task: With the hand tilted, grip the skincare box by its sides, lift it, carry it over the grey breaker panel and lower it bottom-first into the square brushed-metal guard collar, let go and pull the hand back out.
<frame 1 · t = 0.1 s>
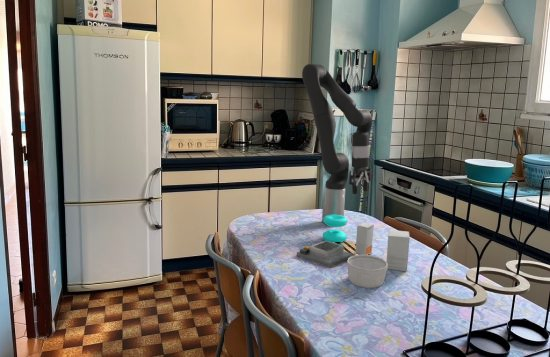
hand: (360, 192, 206), 17 cm above the table, tool pointing down, fingers open, 8 cm apart
donuts: (334, 240, 195), on the table
supplement box: (396, 267, 167), on the table
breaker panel: (324, 256, 175), on the table
ramekin: (365, 282, 154), on the table
skincare box: (363, 255, 179), on the table
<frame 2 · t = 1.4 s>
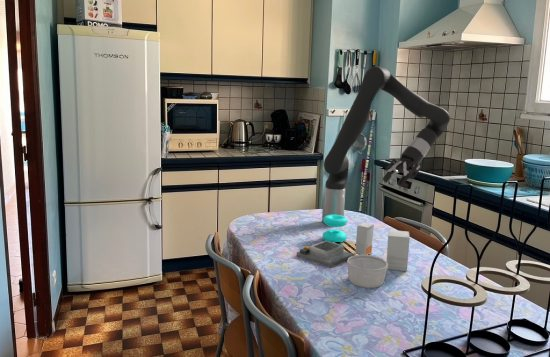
hand: (391, 183, 179), 27 cm above the table, tool tilted 45°, fingers open, 8 cm apart
nothing on the table moved.
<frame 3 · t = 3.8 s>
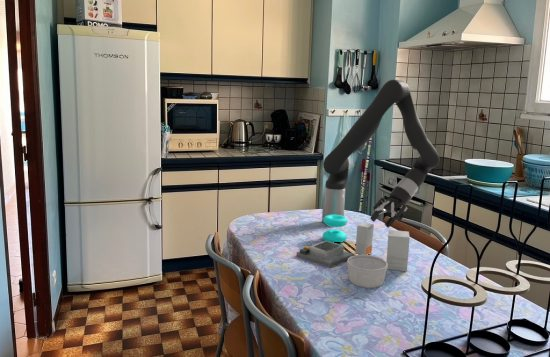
hand: (379, 223, 179), 12 cm above the table, tool tilted 45°, fingers open, 8 cm apart
nothing on the table moved.
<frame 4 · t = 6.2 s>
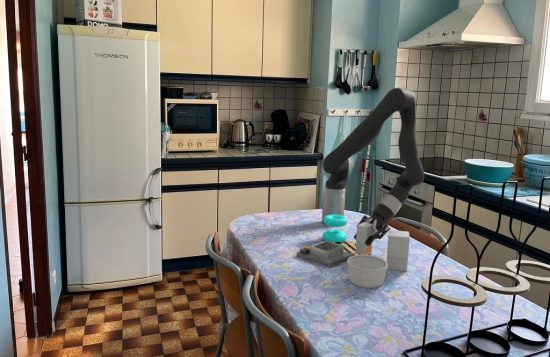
hand: (360, 241, 177), 5 cm above the table, tool tilted 45°, fingers closed on skincare box, 6 cm apart
skincare box: (363, 254, 179), on the table, touching gripper
everything else where it was.
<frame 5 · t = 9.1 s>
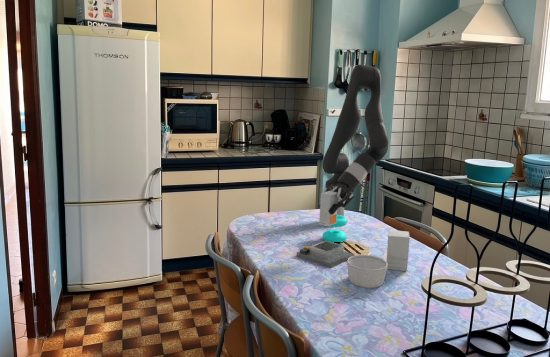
hand: (325, 210, 172), 18 cm above the table, tool tilted 45°, fingers closed on skincare box, 6 cm apart
skincare box: (328, 224, 174), point 12 cm above the table, touching gripper
everything else where it was.
when the fingers open (8 cm above the table, at t = 11.9 s): skincare box drops 1 cm, resting on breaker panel.
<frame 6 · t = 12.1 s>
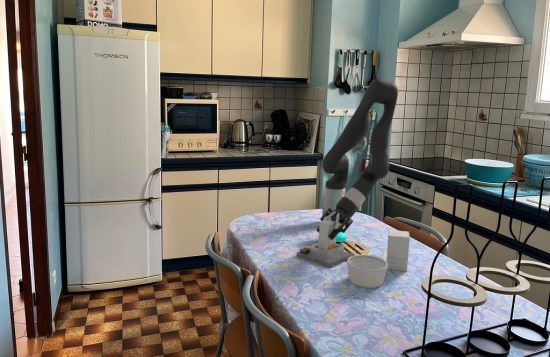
hand: (323, 235, 174), 9 cm above the table, tool tilted 45°, fingers open, 7 cm apart
skincare box: (326, 252, 176), point 1 cm above the table, touching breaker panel
everything else where it was.
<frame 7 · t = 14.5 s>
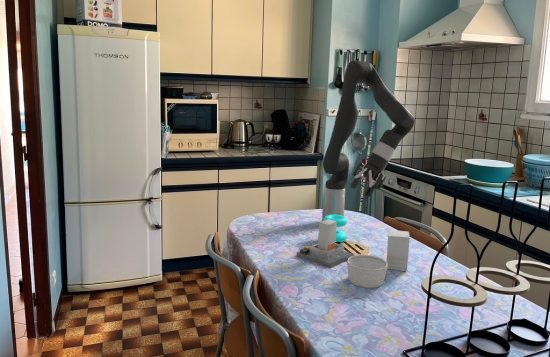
hand: (359, 192, 180), 23 cm above the table, tool tilted 30°, fingers open, 8 cm apart
nothing on the table moved.
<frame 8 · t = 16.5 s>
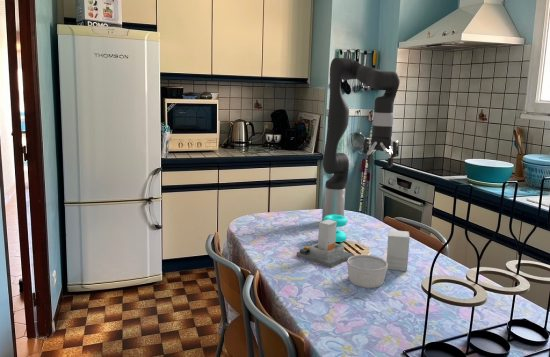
hand: (379, 166, 181), 33 cm above the table, tool pointing down, fingers open, 8 cm apart
nothing on the table moved.
at the end: skincare box 0.4 cm from the target spot on the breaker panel, point 1.3 cm above the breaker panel's base; skincare box tilted 0°; the gripper is holding nothing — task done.
